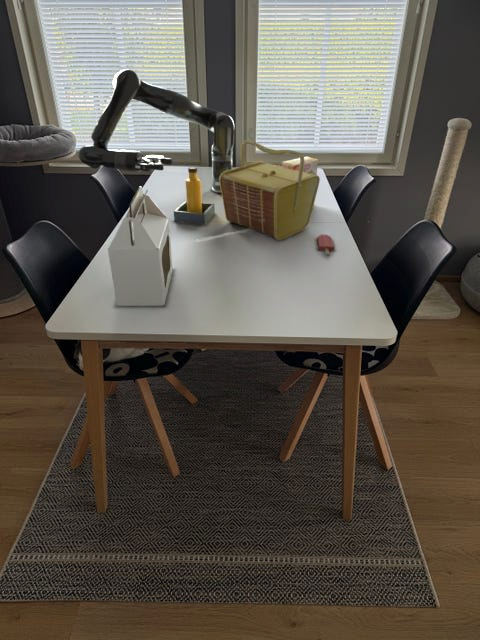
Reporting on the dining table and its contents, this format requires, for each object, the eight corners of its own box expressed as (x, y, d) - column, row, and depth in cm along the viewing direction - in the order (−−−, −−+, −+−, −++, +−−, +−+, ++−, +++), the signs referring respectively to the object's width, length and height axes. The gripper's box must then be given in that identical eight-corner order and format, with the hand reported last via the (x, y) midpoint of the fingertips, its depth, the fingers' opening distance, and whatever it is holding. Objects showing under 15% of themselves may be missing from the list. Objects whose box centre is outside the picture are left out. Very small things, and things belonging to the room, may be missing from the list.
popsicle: (320, 251, 153) (316, 234, 166) (319, 255, 154) (316, 238, 166) (335, 252, 153) (331, 234, 165) (335, 256, 154) (330, 238, 166)
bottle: (198, 213, 184) (196, 164, 173) (204, 218, 180) (203, 168, 169) (185, 216, 182) (182, 166, 171) (191, 220, 178) (189, 170, 167)
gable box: (164, 306, 126) (154, 210, 110) (116, 306, 125) (100, 209, 110) (172, 269, 144) (165, 182, 128) (131, 269, 144) (119, 182, 128)
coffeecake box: (290, 213, 187) (294, 165, 177) (278, 208, 192) (281, 161, 181) (314, 205, 196) (319, 159, 185) (301, 201, 200) (306, 155, 189)
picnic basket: (317, 227, 175) (326, 146, 158) (275, 247, 159) (280, 160, 143) (260, 208, 191) (263, 134, 175) (217, 225, 176) (215, 144, 159)
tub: (185, 211, 188) (185, 200, 185) (214, 214, 185) (214, 203, 182) (174, 222, 178) (173, 211, 175) (204, 225, 175) (204, 214, 172)
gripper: (119, 155, 168) (159, 158, 164) (136, 146, 179) (174, 150, 176) (121, 175, 172) (160, 179, 168) (138, 166, 183) (175, 169, 180)
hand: (167, 164), depth 172 cm, fingers open, 8 cm apart
